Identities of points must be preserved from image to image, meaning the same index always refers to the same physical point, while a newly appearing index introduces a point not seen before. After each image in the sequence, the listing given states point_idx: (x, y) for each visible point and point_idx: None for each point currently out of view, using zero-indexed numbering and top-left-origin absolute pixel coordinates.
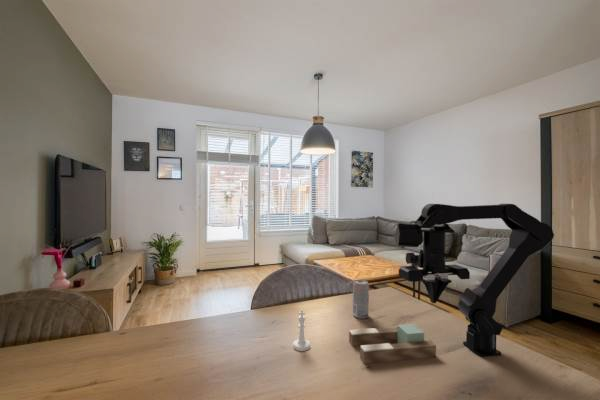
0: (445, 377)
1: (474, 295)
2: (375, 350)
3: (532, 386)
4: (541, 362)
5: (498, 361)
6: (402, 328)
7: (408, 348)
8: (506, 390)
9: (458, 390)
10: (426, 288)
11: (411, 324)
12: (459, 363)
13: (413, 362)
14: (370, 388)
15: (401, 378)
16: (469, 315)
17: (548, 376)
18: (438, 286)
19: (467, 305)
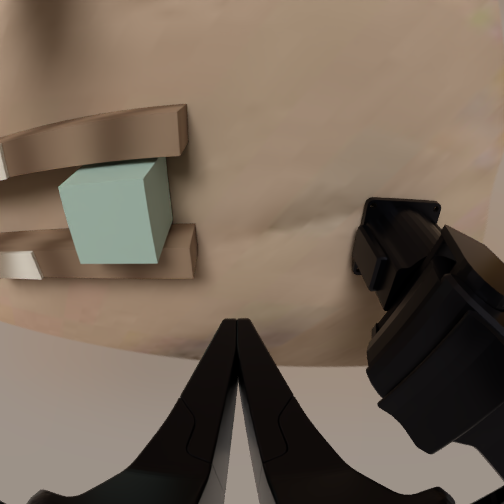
0: (171, 322)
1: (435, 439)
2: (1, 276)
3: (347, 353)
4: None
5: None
6: (72, 219)
7: (87, 276)
8: (281, 359)
9: (177, 351)
10: (170, 418)
11: (129, 184)
12: (253, 286)
13: None
14: (17, 316)
15: (68, 308)
16: (367, 370)
17: None
18: (258, 490)
19: (387, 398)
